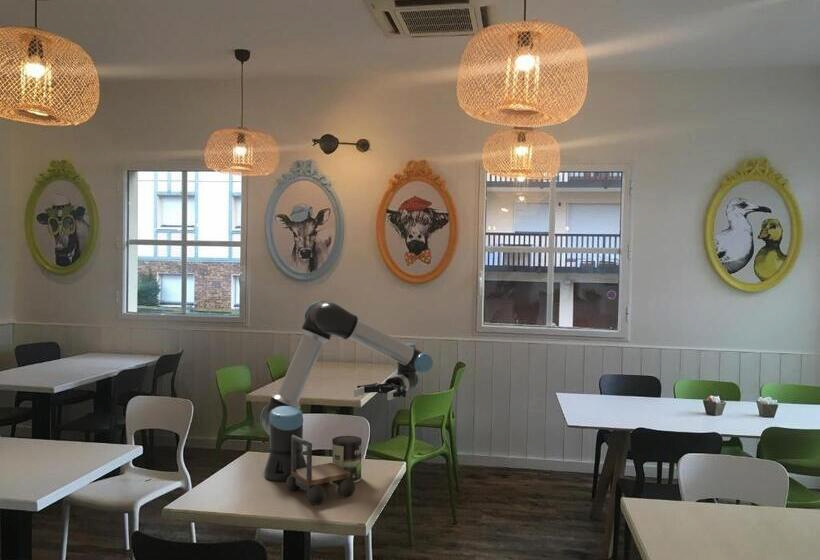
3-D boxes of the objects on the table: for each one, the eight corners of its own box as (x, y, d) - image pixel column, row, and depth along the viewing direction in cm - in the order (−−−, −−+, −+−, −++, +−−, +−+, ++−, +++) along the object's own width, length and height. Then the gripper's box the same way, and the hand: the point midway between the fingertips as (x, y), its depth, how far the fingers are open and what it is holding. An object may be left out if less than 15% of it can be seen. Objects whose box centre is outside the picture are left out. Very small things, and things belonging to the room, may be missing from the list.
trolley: (309, 506, 197) (309, 445, 197) (286, 491, 210) (286, 434, 210) (355, 495, 207) (355, 437, 207) (330, 481, 220) (330, 427, 220)
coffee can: (364, 475, 227) (365, 436, 227) (356, 485, 217) (356, 443, 217) (337, 473, 229) (337, 434, 229) (327, 482, 219) (328, 442, 219)
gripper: (425, 397, 246) (402, 408, 227) (368, 392, 257) (341, 401, 237) (425, 378, 246) (402, 387, 227) (368, 373, 257) (341, 381, 237)
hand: (371, 394), depth 232 cm, fingers open, 13 cm apart
